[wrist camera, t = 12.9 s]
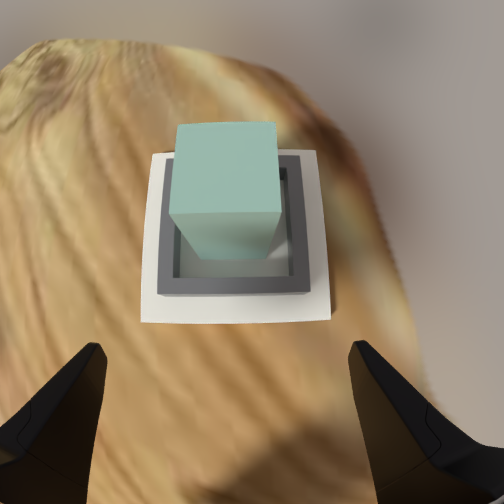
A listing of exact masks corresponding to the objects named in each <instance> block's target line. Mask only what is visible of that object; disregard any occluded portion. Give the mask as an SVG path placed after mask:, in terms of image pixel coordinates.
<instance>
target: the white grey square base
mask: <svg viewBox="0 0 504 504" xmlns="http://www.w3.org/2000/svg"><path fill="white" fill-rule="evenodd" d="M174 153H175V152H170V153H159V154H153V157H152V164H151V171H150V179H149V187H148V196H147V205H146V216H145V227H144V241H143V257H142V281H141V322H151V323H191V324H234V323H274V322H297V321H315V320H330V319H331V308H330V288H329V272H328V258H327V246H326V234H325V224H324V214H323V204H322V196H321V187H320V179H319V171H318V164H317V157H316V150H296V149H278V163H279V178H280V194H281V211H282V212H281V215H280V218H279V221H278V224H277V227H276V230H275V233H274V236H273V239H272V242H271V245H270V248H269V251H268V254H267V257H266V259H229V260H201V259H200V258H199V256H198V255H197V253H196V252H195V251H194V249H193V248H192V246H191V245H190V244H189V242H188V241H187V239H186V238H185V237H184V235H183V234H182V232H181V231H180V230H179V228H178V227H177V225H176V224H175V222H174V221H173V219H172V218H171V217H170V215H169V205H170V193H171V182H172V171H173V162H174Z"/></svg>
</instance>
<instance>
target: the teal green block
mask: <svg viewBox="0 0 504 504" xmlns="http://www.w3.org/2000/svg"><path fill="white" fill-rule="evenodd" d="M281 212H282V211H281V194H280V178H279V163H278V149H277V136H276V123H275V122H213V123H195V124H181V125H178V129H177V137H176V145H175V153H174V162H173V171H172V182H171V193H170V205H169V215H170V217H171V218H172V219H173V221H174V222H175V224H176V225H177V227H178V228H179V230H180V231H181V232H182V234H183V235H184V237H185V238H186V239H187V241H188V242H189V244H190V245H191V246H192V248H193V249H194V251H195V252H196V253H197V255H198V256H199V258H200V259H201V260H229V259H266V257H267V254H268V251H269V248H270V245H271V242H272V239H273V236H274V233H275V230H276V227H277V224H278V221H279V218H280V215H281Z"/></svg>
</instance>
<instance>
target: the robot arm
mask: <svg viewBox="0 0 504 504" xmlns="http://www.w3.org/2000/svg"><path fill="white" fill-rule="evenodd" d="M348 363H349V370H350V376H351V383H352V390H353V396H354V401H355V405H356V409H357V413H358V417H359V421H360V424H361V428H362V433H363V437H364V441H365V445H366V449H367V453H368V458H369V462H370V467H371V471H372V476H373V480H374V485H375V490H376V496H377V501H378V504H504V448H498V447H491V446H485V445H482V444H480V443H478V442H476V441H475V440H473V439H472V438H471V437H469V436H468V435H467V434H465V433H464V432H463V431H462V430H460V429H459V428H458V427H456V426H455V425H454V424H453V423H451V422H450V421H449V420H448V419H447V418H445V417H444V416H443V415H442V414H441V413H440V412H439V411H438V410H437V409H436V408H435V407H434V406H433V405H432V404H431V403H430V402H428V401H427V400H426V399H425V398H424V397H423V396H422V395H421V394H420V393H419V392H418V391H417V390H416V389H415V388H414V387H413V386H412V385H411V384H410V383H409V382H408V381H407V380H406V379H405V378H404V377H403V376H402V375H401V374H400V373H399V372H398V371H397V370H396V369H395V368H394V367H393V366H392V365H390V364H389V363H388V362H387V361H386V360H385V359H384V358H383V357H382V356H381V355H380V354H379V353H378V352H377V351H376V350H375V349H374V348H373V347H372V346H371V345H370V344H369V343H368V342H367V341H365V340H360V341H354V342H353V344H352V347H351V350H350V353H349V356H348ZM106 370H107V357H106V355H105V353H104V351H103V349H102V347H101V345H100V344H99V343H93V342H90V343H88V344H87V345H86V346H84V347H83V348H82V349H81V350H80V351H79V352H78V353H77V354H76V355H75V356H74V357H73V358H72V359H71V360H70V361H69V362H68V363H67V364H66V365H65V366H63V367H62V368H61V369H60V370H59V371H58V372H57V373H56V374H55V375H54V376H53V377H52V378H51V379H50V380H49V381H48V382H47V383H46V384H45V385H44V386H43V387H42V388H41V389H40V390H39V391H38V392H37V393H36V394H35V395H34V396H33V397H32V398H31V399H30V400H29V401H28V402H27V403H26V404H25V405H24V406H23V407H22V408H21V409H20V410H19V411H18V412H17V413H16V414H15V415H14V416H12V417H11V418H10V419H9V420H8V421H7V422H6V423H4V424H3V425H2V426H1V427H0V504H86V502H87V492H88V482H89V474H90V467H91V460H92V453H93V447H94V441H95V436H96V430H97V425H98V420H99V415H100V410H101V405H102V400H103V394H104V386H105V378H106Z"/></svg>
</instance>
